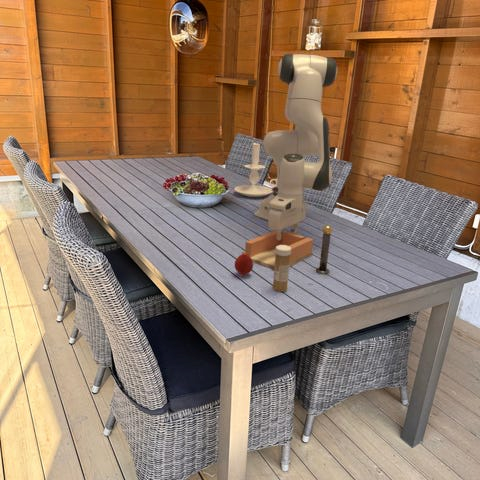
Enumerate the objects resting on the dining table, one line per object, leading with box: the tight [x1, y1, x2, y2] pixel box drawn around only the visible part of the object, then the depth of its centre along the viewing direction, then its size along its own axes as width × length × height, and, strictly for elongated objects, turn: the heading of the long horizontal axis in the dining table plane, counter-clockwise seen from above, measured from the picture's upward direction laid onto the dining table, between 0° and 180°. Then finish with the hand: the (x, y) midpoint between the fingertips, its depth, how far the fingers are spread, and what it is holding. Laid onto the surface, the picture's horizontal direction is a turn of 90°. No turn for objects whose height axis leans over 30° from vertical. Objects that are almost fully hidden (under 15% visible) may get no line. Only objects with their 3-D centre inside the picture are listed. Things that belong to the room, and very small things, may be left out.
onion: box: [234, 251, 254, 277], centre depth 144 cm, size 6×6×8 cm
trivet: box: [250, 244, 314, 270], centre depth 162 cm, size 16×21×1 cm
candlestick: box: [234, 142, 277, 198], centre depth 240 cm, size 21×25×28 cm
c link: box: [244, 229, 314, 263], centre depth 160 cm, size 20×15×5 cm
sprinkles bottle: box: [272, 245, 291, 292], centre depth 135 cm, size 5×5×13 cm
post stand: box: [315, 225, 333, 275], centre depth 149 cm, size 4×4×16 cm
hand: (286, 236), depth 168 cm, fingers open, 8 cm apart
